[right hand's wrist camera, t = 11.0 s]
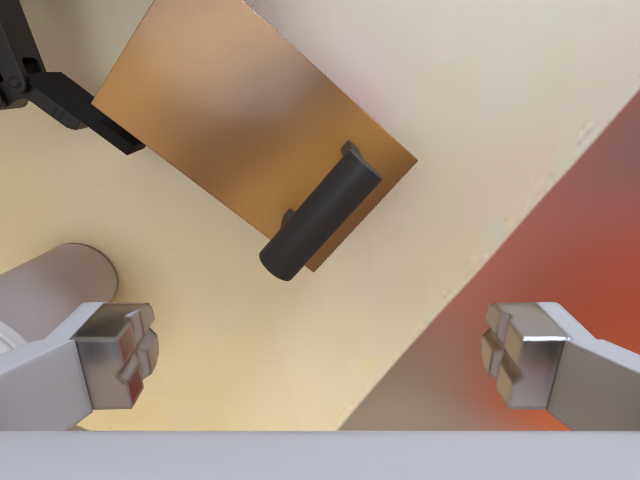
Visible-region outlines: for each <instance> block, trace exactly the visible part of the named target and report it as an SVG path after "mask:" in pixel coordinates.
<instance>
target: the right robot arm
mask: <svg viewBox="0 0 640 480" xmlns="http://www.w3.org/2000/svg"><path fill="white" fill-rule="evenodd" d="M153 321H154V314H153V310H152V307H151V306H150V304H149V303H120V302H107V303H106V302H86V303H81V304H80V305H79V306H78V307H77V308H76V309H75V310H74V311H73V312H72V313H71V314H70V315H69V316H68V317H67V318H66V319H65V320H64V321H63V322H61V323H60V324H59V325H58V326H57V327H56V328H55V329H54V330H53V331H52V332H51V333H50V334H49V335H48V336H47V337H46V338H45V339H44V340H35V341H32V342H30V343H27V344H25V345H23V346H20V347H18V348H16V349H13V350H11V351H8V352H6V353H4V354H1V355H0V480H640V355H639V354H636V353H634V352H632V351H629V350H627V349H624V348H622V347H620V346H617V345H615V344H612V343H610V342H608V341H605V340H596V339H595V338H594V337H593V336H592V335H591V334H590V333H589V332H588V331H587V330H586V329H585V328H584V327H583V326H582V325H581V324H580V323H579V322H578V321H576V320H575V319H574V318H573V317H572V316H571V315H570V314H569V313H568V312H567V311H566V310H565V309H564V308H563V307H562V306H561V305H560V304H558V303H555V302H529V303H494V304H490V305H489V307H488V309H487V314H486V321H487V322H488V324H489V325H490V328H489V329H488V330H487V331H486V332H485V333H484V334H483V337H482V345H481V350H482V359H483V363H484V366H485V368H486V370H487V372H488V374H489V375H491V376H493V377H494V378H496V379H497V386H496V388H497V390H498V392H499V393H500V395H501V397H502V399H503V400H504V402H505V404H506V405H507V407H508V409H538V410H547V412H548V413H550V414H551V415H552V416H554V417H555V418H556V419H558V420H559V421H560V422H562V423H563V424H564V425H565V426H567V427H568V428H569V429H571V430H572V431H68V430H69V429H71V428H72V427H73V426H75V425H76V424H77V423H79V422H80V421H81V420H83V419H84V418H85V417H87V416H88V415H89V414H90V413H92V412H93V410H103V409H132V407H133V406H134V404H135V402H136V400H137V399H138V397H139V395H140V393H141V392H142V390H143V388H144V386H143V379H144V378H146V377H148V376H149V375H151V374H152V372H153V370H154V368H155V366H156V363H157V358H158V354H159V343H158V337H157V334H156V333H155V332H154V331H153V330H152V329H151V328H150V325H151V324H152V322H153Z"/></svg>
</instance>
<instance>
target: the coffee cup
mask: <svg viewBox="0 0 640 480" xmlns="http://www.w3.org/2000/svg"><path fill="white" fill-rule="evenodd" d="M116 289H117V277H116V273H115V271H114V269H113V267H112V265H111V264H110V262H109V261H108V260H107V259H106V258H105V257H104V256H103V255H102V254H101V253H99V252H98V251H96V250H94V249H92V248H90V247H88V246H85V245H80V244H65V245H61V246H58V247H56V248H54V249H52V250H50V251H48V252H46V253H44V254H42V255H40V256H38V257H36V258H34V259H32V260H30V261H28V262H26V263H24V264H22V265H20V266H18V267H16V268H14V269H12V270H10V271H8V272H5V273H3V274H1V275H0V355H1V354H4V353H6V352H8V351H11V350H13V349H16V348H18V347H20V346H23V345H25V344H27V343H30V342H32V341H35V340H44V339H45V338H46V337H47V336H48V335H49V334H50V333H51V332H52V331H53V330H54V329H55V328H56V327H57V326H58V325H59V324H60V323H61V322H63V321H64V320H65V319H66V318H67V317H68V316H69V315H70V314H71V313H72V312H73V311H74V310H75V309H76V308H77V307H78V306H79V305H80V304H81V303H86V302H106V303H107V302H110V301H111V299H112V298H113V296H114V294H115V292H116Z"/></svg>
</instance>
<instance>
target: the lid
mask: <svg viewBox="0 0 640 480" xmlns="http://www.w3.org/2000/svg"><path fill="white" fill-rule="evenodd" d="M91 104H92V105H93V106H95V107H96V108H97V109H99V110H100V111H101V112H103V113H104V114H105V115H107V116H108V117H109V118H111V119H112V120H113V121H115V122H116V123H117V124H119V125H120V126H121V127H122V128H124V129H125V130H126V131H128V132H129V133H130V134H132V135H133V136H134V137H136V138H137V139H138V140H140V141H141V142H142V143H144V144H145V145H146V146H148V147H149V148H150V149H152V150H153V151H154V152H155V153H157V154H158V155H159V156H161V157H162V158H163V159H165V160H166V161H167V162H169V163H170V164H171V165H173V166H174V167H175V168H177V169H178V170H179V171H181V172H182V173H183V174H185V175H186V176H187V177H188V178H190V179H191V180H192V181H194V182H195V183H196V184H198V185H199V186H200V187H202V188H203V189H204V190H206V191H207V192H208V193H210V194H211V195H212V196H214V197H215V198H216V199H218V200H219V201H220V202H221V203H223V204H224V205H225V206H227V207H228V208H229V209H231V210H232V211H233V212H235V213H236V214H237V215H239V216H240V217H241V218H243V219H244V220H245V221H247V222H248V223H249V224H251V225H252V226H253V227H254V228H256V229H257V230H258V231H260V232H261V233H262V234H264V235H265V236H266V237H268V238H269V239H270V242H269V243H268V244H267V245H266V246H265V247H264V248H263V250H262V251H261V252H260V254H259V257H260V260H261V262H262V264H263V265H264V266H265V268H266V269H267V270H268V271H269V272H270V273H272V274H273V275H274V276H276V277H277V278H279V279H281V280H284V281H290V280H291V279H292V278H293V277H294V276H295V275H296V274H297V273H298V272H299V271H300V270H301V268H302V267H303V266H304V265H305V266H306V267H307V268H309V269H310V270H311V271H313V272H315V271H316V270H317V268H318V267H319V266H320V265H321V264H322V263H323V262H324V261H325V260H326V259H327V258H328V257H329V256H330V255H331V253H332V252H333V251H334V250H335V249H336V248H337V247H338V246H339V245H340V244H341V243H342V242H343V241H344V240H345V238H346V237H347V236H348V235H349V234H350V233H351V232H352V231H353V230H354V229H355V228H356V227H357V226H358V225H359V223H360V222H361V221H362V220H363V219H364V218H365V217H366V216H367V215H368V214H369V213H370V212H371V211H372V209H373V208H374V207H375V206H376V205H377V204H378V203H379V202H380V201H381V200H382V199H383V198H384V197H385V196H386V194H387V193H388V192H389V191H390V190H391V189H392V188H393V187H394V186H395V185H396V184H397V183H398V182H399V181H400V179H401V178H402V177H403V176H404V175H405V174H406V173H407V172H408V171H409V170H410V169H411V168H412V167H413V165H414V164H415V163H416V162H417V161H418V160H417V159H416V158H415V157H414V156H413V155H412V154H411V153H410V152H409V151H407V150H406V149H405V148H404V147H403V146H402V145H401V144H400V143H399V142H398V141H396V140H395V139H394V138H393V137H392V136H391V135H390V134H389V133H388V132H387V131H385V130H384V129H383V128H382V127H381V126H380V125H379V124H378V123H377V122H376V121H375V120H373V119H372V118H371V117H370V116H369V115H368V114H367V113H366V112H365V111H364V110H362V109H361V108H360V107H359V106H358V105H357V104H356V103H355V102H354V101H353V100H351V99H350V98H349V97H348V96H347V95H346V94H345V93H344V92H343V91H342V90H341V89H339V88H338V87H337V86H336V85H335V84H334V83H333V82H332V81H331V80H330V79H328V78H327V77H326V76H325V75H324V74H323V73H322V72H321V71H320V70H319V69H317V68H316V67H315V66H314V65H313V64H312V63H311V62H310V61H309V60H308V59H307V58H305V57H304V56H303V55H302V54H301V53H300V52H299V51H298V50H297V49H296V48H294V47H293V46H292V45H291V44H290V43H289V42H288V41H287V40H286V39H285V38H283V37H282V36H281V35H280V34H279V33H278V32H277V31H276V30H275V29H274V28H273V27H271V26H270V25H269V24H268V23H267V22H266V21H265V20H264V19H263V18H262V17H260V16H259V15H258V14H257V13H256V12H255V11H254V10H253V9H252V8H251V7H249V6H248V5H247V4H246V3H245V2H244V1H243V0H154V1H153V3H152V5H151V6H150V8H149V9H148V11H147V13H146V14H145V16H144V18H143V19H142V21H141V23H140V24H139V26H138V27H137V29H136V31H135V32H134V34H133V36H132V37H131V39H130V40H129V42H128V44H127V45H126V47H125V49H124V50H123V52H122V53H121V55H120V57H119V58H118V60H117V62H116V63H115V65H114V66H113V68H112V70H111V71H110V73H109V75H108V76H107V78H106V79H105V81H104V83H103V84H102V86H101V88H100V89H99V91H98V92H97V94H96V96H95V97H94V99H93V101H92V102H91Z"/></svg>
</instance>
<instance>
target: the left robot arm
mask: <svg viewBox="0 0 640 480" xmlns="http://www.w3.org/2000/svg"><path fill="white" fill-rule="evenodd" d="M93 99H94V97H93V96H92V95H91V94H90V93H88V92H87V91H86V90H84V89H83V88H82V87H80V86H79V85H78V84H76V83H75V82H74V81H72V80H71V79H70V78H68V77H67V76H66V75H64V74H63V73H62V72H46V70H45V67H44V64H43V62H42V59H41V57H40V54H39V51H38V49H37V46H36V44H35V41H34V38H33V36H32V33H31V31H30V28H29V25H28V23H27V20H26V18H25V15H24V12H23V10H22V7H21V4H20V2H19V0H0V110H4V109H13V108H22V107H25V106H26V105H27V103H28V101H31V102H32V103H34V104H35V105H37V106H38V107H39V108H41V109H42V110H43V111H45V112H46V113H48V114H49V115H50V116H52V117H53V118H54V119H56V120H58V121H59V122H60V123H61V124H63V125H64V126H66V127H67V128H70V129H74V130H78V129H82V128H87V127H89V128H91V129H92V130H93V131H95V132H96V133H98V134H99V135H100V136H102V137H103V138H104V139H106V140H107V141H108V142H110V143H111V144H113V145H114V146H115V147H117V148H118V149H119V150H121V151H122V152H123V153H125V154H126V155H129V154H131V153H134V152H136V151H138V150H141V149H143V148H145V146H146V145H145V144H144V143H142V142H141V141H140V140H138V139H137V138H136V137H134V136H133V135H132V134H130V133H129V132H128V131H126V130H125V129H124V128H122V127H121V126H120V125H119V124H117V123H116V122H115V121H113V120H112V119H111V118H109V117H108V116H107V115H105V114H104V113H103V112H101V111H100V110H99V109H97V108H96V107H95V106H93V105H92V104H91V102H92V101H93Z"/></svg>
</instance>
